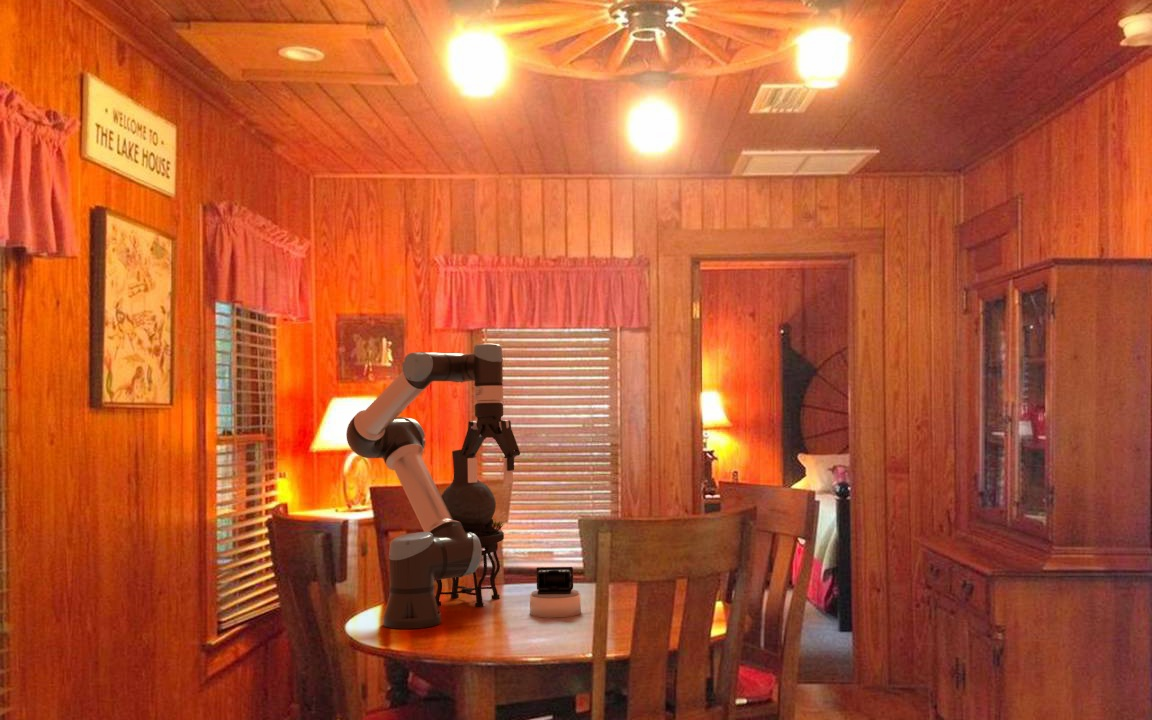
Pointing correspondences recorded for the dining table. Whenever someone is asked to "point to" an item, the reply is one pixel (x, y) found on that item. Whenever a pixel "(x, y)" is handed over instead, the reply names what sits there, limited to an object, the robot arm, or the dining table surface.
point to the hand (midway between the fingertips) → (490, 483)
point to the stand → (555, 604)
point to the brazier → (472, 524)
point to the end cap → (554, 580)
